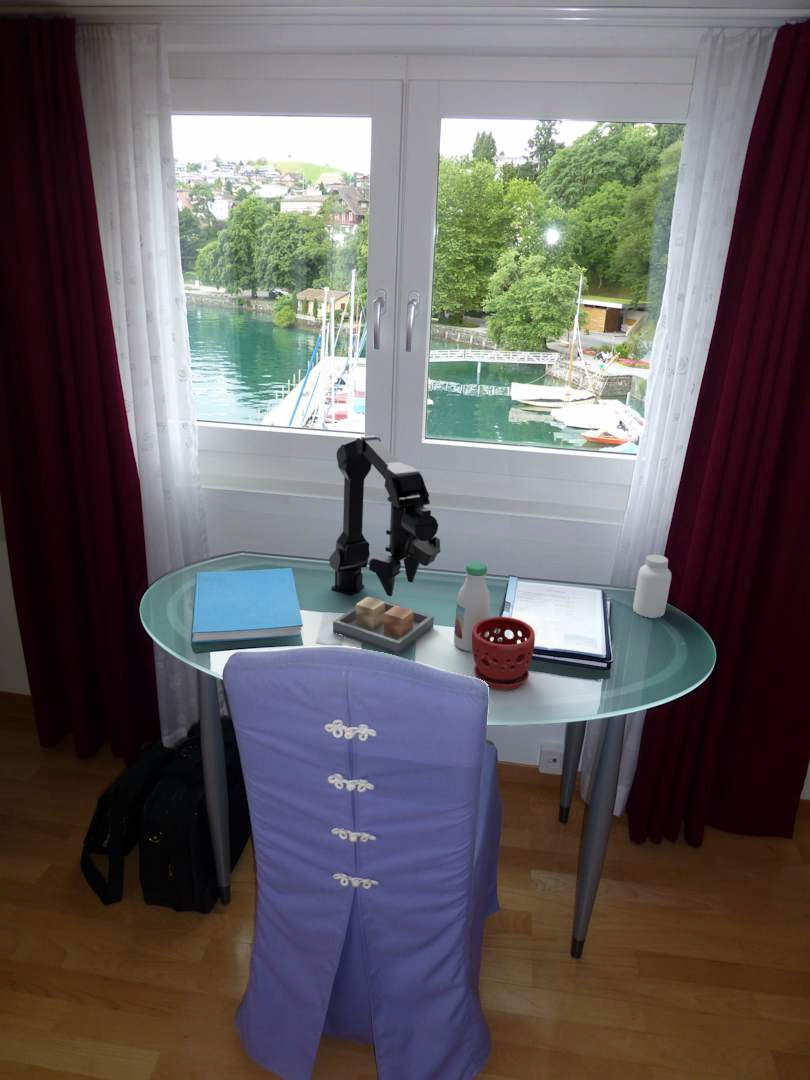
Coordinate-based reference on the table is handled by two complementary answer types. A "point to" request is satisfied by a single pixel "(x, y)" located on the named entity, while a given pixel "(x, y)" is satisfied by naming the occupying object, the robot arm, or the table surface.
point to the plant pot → (502, 652)
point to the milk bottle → (471, 605)
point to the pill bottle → (652, 587)
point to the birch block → (370, 612)
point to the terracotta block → (398, 621)
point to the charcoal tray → (382, 631)
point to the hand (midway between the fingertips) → (400, 588)
